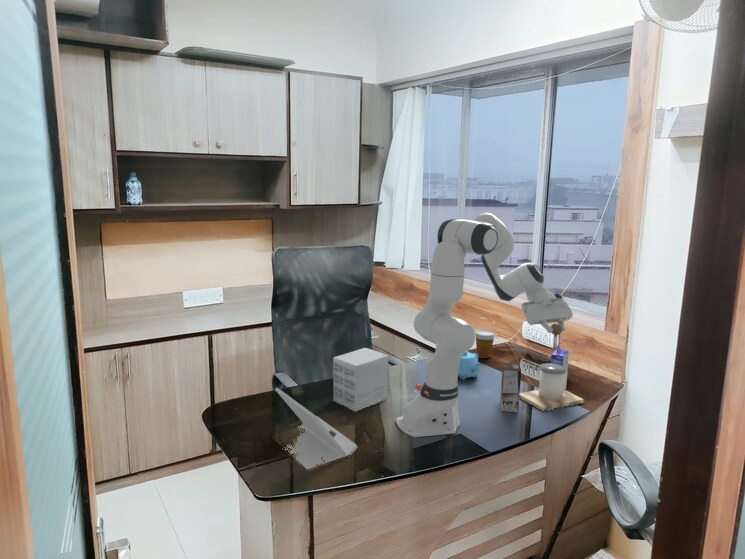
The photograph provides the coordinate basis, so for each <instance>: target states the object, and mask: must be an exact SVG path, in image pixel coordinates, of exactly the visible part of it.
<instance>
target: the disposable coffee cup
mask: <svg viewBox="0 0 745 559" xmlns="http://www.w3.org/2000/svg"><path fill="white" fill-rule="evenodd" d="M475 334H476V337H475V344H476V354H477V355H478V358H479V357H480V358H479V359H482V358H488V359H490V358H491V356H492V355H491V354H492V350H493V346H494V345H493V344H494V339H495V337H496V335H495V332H493V331H491V330H484V329H483V330H482V329H481V330H477V331H475ZM489 357H490V358H489Z"/></svg>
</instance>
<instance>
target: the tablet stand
mask: <svg viewBox="0 0 745 559" xmlns="http://www.w3.org/2000/svg"><path fill="white" fill-rule="evenodd" d="M274 390H275V392H277V395H279V396H280V397H281V399H282V400H283V401H284V402H285V403H286V404H287V406H289V408H290V409H291V411H293V413H294V414H295V415H296V416H297V418H298V419H299V420H300V421H301V422H302V423H301V425H299V426H297V427H298V428H299V427H300V428H302V429H305V432H306V433H305V432H304V433H303V434H302V433H300V436H299V437H300V438H299V437H298V436H297V437H298V438H297V441H298V442H297V441H296V442H297V444H296V443H295V444H296V445H295V447H294V446H293V447H294V448H293V447H292V445H291V444H290V445H291V446H290V445H289V444H288V445H289V446H288V445H287V444H286V445H287V447H288V448H290V449H292V450H290V449H289V450H290V452H289V450H288V448H287V447H286V448H287V449H286V448H285V447H284V448H285V450H288V452H289V453H291V454H293V453H295V454H296V453H297V452H298V453H297V455H298V454H299V455H298V457H297V455H296V460H297V461H299V463H301V464H302V465H303V466H304V467H305V468H306V469H310V468H313V467H315V466H317V465H316V464H318V465H320V464H321V463H322V464H324V463H327V462H330V461H333V460H336V459H339V458H342V457H345V456H348V455H350V456H351V455H353V453H354V452H355V451H356V450H357V449H358V445H357V444H356V443H355V442H354V441H352V440H351V439H349V438H348V437H347V436H345V435H344V434H343V433H341V432H340V431H338V430H337V429H336V428H334V427H333V426H331V425H330V424H329V423H327V422H326V421H324V419H322V418H320V417H319V416H317V415H315V414H314V413H313V412H311V411H310V410H308V409H307V408H306V407H305V406H303V405H302V404H300V403H299V402H298V401H296V400H295V399H294V398H292V397H291V396H290V395H289V394H287V393H285V392H284V391H283V390H281V389H280V388H279V387H276V388H275V389H274ZM300 428H299V430H300ZM302 429H301V430H302ZM301 430H300V431H301ZM303 431H304V430H303ZM303 431H302V432H303ZM331 432H333V433H334V434H335V435H334V436H333V435H332V434H331ZM301 434H302V435H301ZM302 436H303V437H302ZM300 443H301V444H300ZM295 448H296V449H295ZM285 450H284V451H285ZM322 457H323V459H322V460H321V458H322ZM348 457H349V456H348ZM296 460H295V461H296ZM323 460H324V461H325V462H323ZM297 461H296V462H297ZM299 463H298V464H299Z"/></svg>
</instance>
